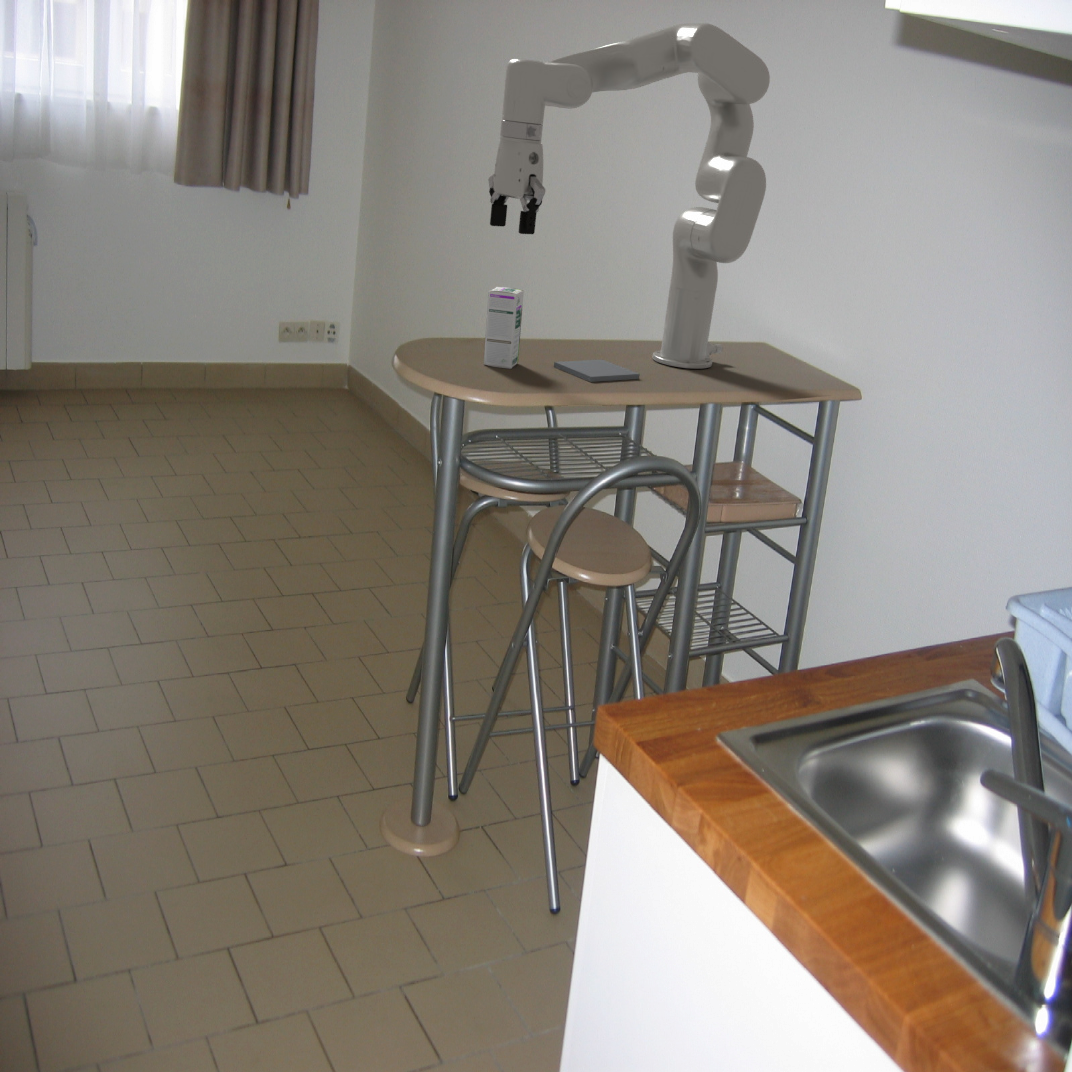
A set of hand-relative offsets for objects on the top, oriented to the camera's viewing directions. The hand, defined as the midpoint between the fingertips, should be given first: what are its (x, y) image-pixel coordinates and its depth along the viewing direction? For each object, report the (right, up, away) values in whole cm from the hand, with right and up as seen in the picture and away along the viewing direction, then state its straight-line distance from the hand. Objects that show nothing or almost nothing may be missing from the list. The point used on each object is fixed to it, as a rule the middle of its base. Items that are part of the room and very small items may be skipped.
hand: (511, 229), depth 211 cm
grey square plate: (+16, -25, +11) cm, 32 cm away
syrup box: (-2, -24, +9) cm, 26 cm away
